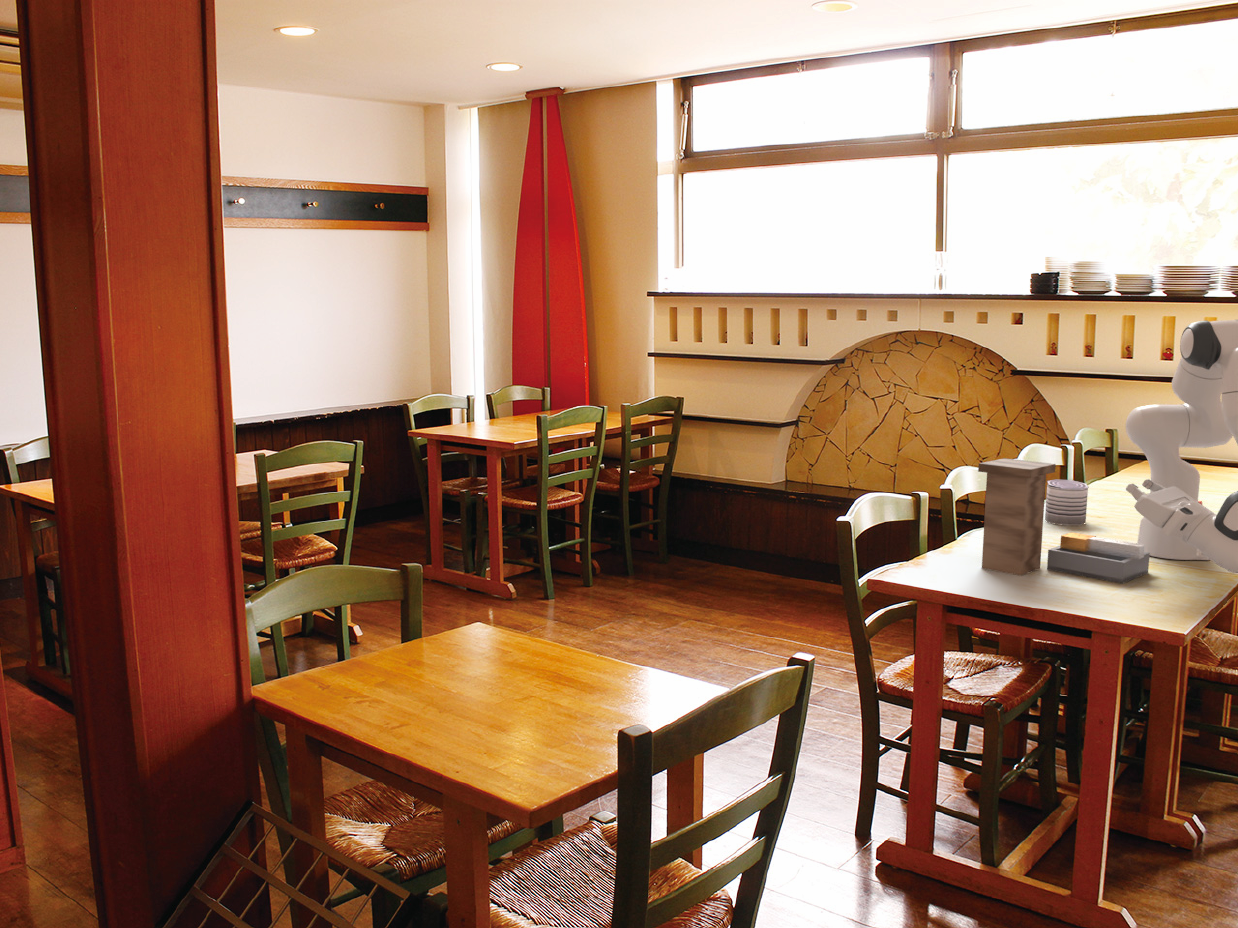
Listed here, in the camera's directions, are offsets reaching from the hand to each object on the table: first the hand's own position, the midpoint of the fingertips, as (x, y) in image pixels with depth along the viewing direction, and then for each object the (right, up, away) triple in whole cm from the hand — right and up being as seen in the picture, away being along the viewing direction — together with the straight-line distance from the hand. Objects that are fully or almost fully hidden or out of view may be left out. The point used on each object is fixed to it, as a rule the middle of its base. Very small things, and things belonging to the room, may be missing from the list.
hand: (1136, 483), depth 248 cm
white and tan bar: (-5, -17, +7) cm, 19 cm away
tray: (-5, -21, +9) cm, 24 cm away
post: (-25, -21, +11) cm, 35 cm away
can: (+12, -13, +68) cm, 70 cm away
